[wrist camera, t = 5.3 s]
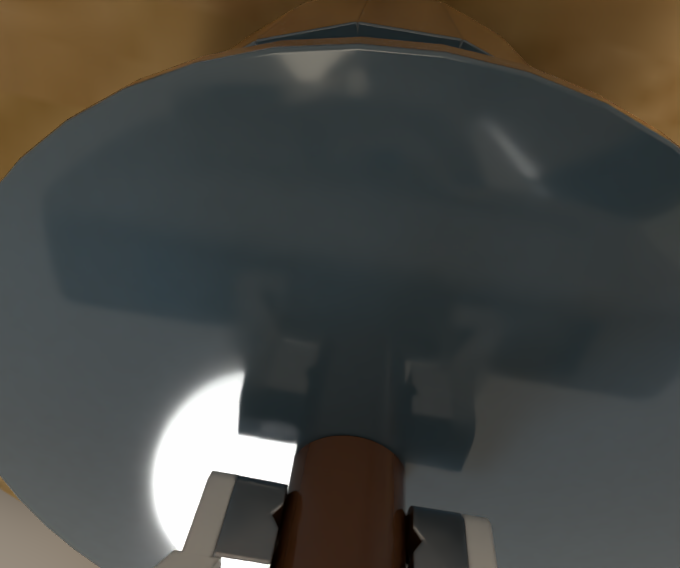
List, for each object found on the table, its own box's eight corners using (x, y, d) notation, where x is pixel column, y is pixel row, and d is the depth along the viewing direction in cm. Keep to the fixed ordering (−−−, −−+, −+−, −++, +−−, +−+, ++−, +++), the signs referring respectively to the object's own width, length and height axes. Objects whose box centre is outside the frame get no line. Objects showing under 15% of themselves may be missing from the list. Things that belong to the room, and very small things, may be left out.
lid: (1026, 133, 8) (1651, 349, 4) (577, 652, 17) (627, 868, 13) (-135, -60, 8) (-666, -44, 4) (52, 561, 17) (-51, 747, 13)
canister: (621, 29, 20) (744, 85, 13) (493, 356, 29) (525, 497, 21) (191, -42, 20) (76, -26, 13) (195, 306, 29) (128, 431, 21)
